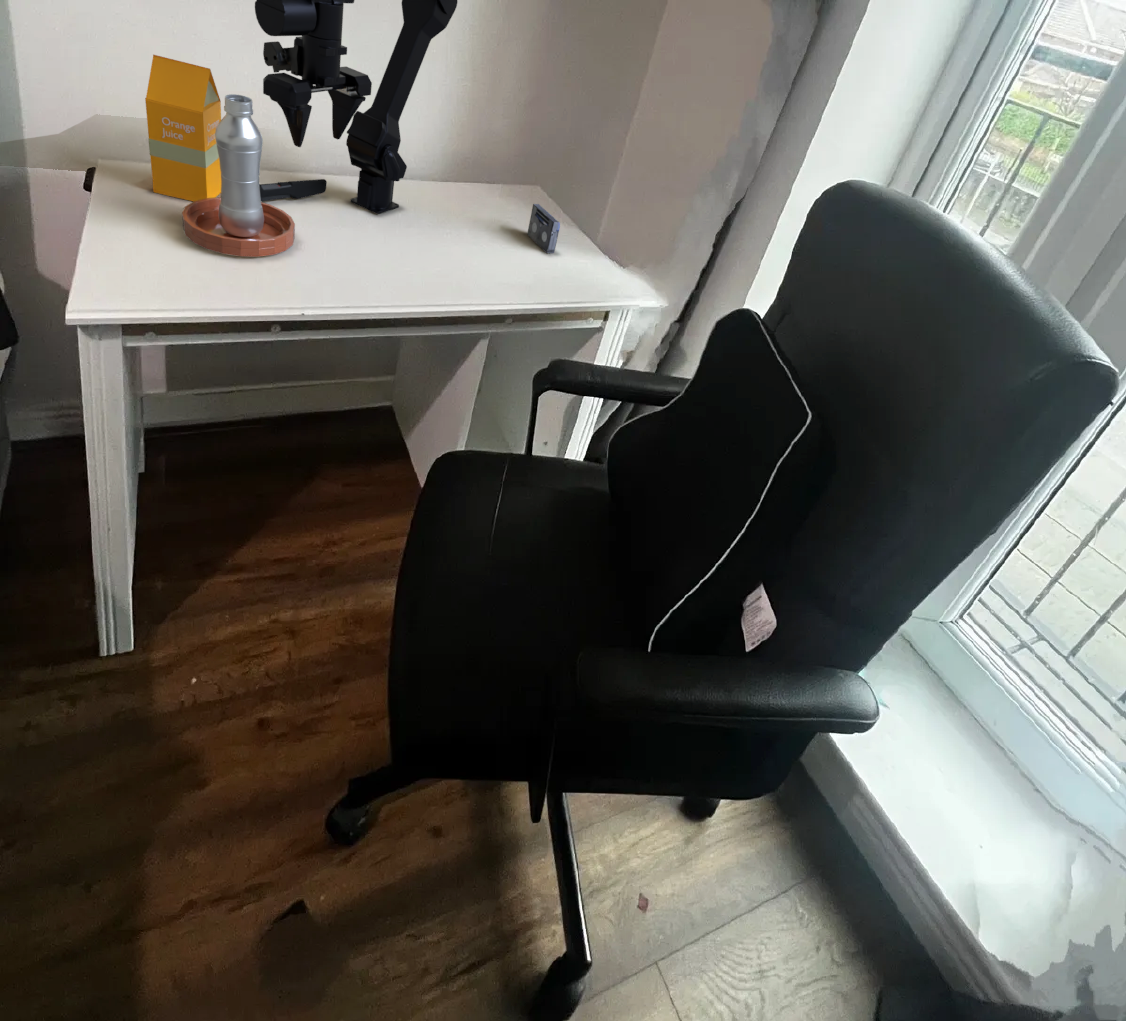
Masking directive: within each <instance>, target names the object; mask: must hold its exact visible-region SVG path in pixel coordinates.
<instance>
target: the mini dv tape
mask: <svg viewBox="0 0 1126 1021" xmlns="http://www.w3.org/2000/svg"><path fill="white" fill-rule="evenodd" d="M560 228H561V222H560V221H558V219H556V218H555V217H554V216H553V215H552V214H551V213H550V212H548V211H547V210H546V209H545V208H544V207H543V206H542V205H540V204H539V203H533V204H532V209H531V214H530V219H529V224H528V229H527V233H526V234H527V236H528V237H529V238H530V239H531V240H532V241H533V242H534V243H536V245H537V246H538V247H539V248H541V250H543V251H544V252H545V253H546V254H555V250H556V247H557V242H558V238H559V232H560Z"/></svg>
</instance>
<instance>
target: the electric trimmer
mask: <svg viewBox="0 0 1126 1021" xmlns="http://www.w3.org/2000/svg"><path fill="white" fill-rule="evenodd" d="M259 187H260V197H261V202H267V201H276V200H284V199H293V200H299V199H304V198H308V197H313V196H316V195H322V194H324V193H326V191H327V180H326V179H325V178H318V179H306V180H305V179H303V180H289V181H278V182H273V183H272V182H271V183H259Z"/></svg>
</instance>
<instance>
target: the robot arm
mask: <svg viewBox="0 0 1126 1021" xmlns="http://www.w3.org/2000/svg"><path fill="white" fill-rule="evenodd" d="M354 3H355V0H256V1H254V13H255V18H256V21H257V23H258V25H259V27H260V28H261V30H262V31H263V32H264V33H265V34H266V35H268V36H270V37H295V38H294V39H293V46H292V47H283V46H282V43H280V41H266V42H263V50H262V56H263V60H264V63H265V65H266V66H267V67H272V71H273V73H268V74H267V75H265V77H264V78H263V79H262V85H263V86H262V94H263V95H265V96H268V97H269V99H270V100H271V101H273V102H274V103H277V105H278V106H279V107H280V108H281V110H282V112H283V115H284V117H285V120H286V123H287V126H288V129H289V130H288V131H289V133H290V136H291V139H292V142H293V145H294V146H295V147H297V148H301V147H302V145H303V143H304V141H305V140H304V139H305V136H306V132H307V128H308V124H309V121H310V120H309V119H310V116H311V112H312V109H313V106H312V105H311V104H309V103H310V101H311V99H312V96H313V95H312V94H313V93H322V92H327V93H328V95H329V97H330V99H331V105H332V106H331V115H332V116H331V128H332V137H333V138H334V139H336V140H340V139H341V138H342V135H343V134H344V132H345V130H346V129H347V127H348V125H349V123H350V122H351V124H350V126H349V128H348V130H347V131H346V134H348V135H347V138H346V141H345V142H346V143H345V145H346V147H347V150H348V156H349V160H350V165H351V166H353V167H356V168H358V169H360V170H359V173H358V174H359V175H358V180H357V189H356V190H357V192H356V197H353V198H350V200H349V201H350V203H351V204H354V205H356V206H358V207H360V208H363V209H365V210H367V211H369V212H372V213H374V214H376V215H381V214H384V213H387V212H389V211H393V210H396V209H399V207H400V204H399V203H396V202H394V201H393V198H394V188H395V187H394V186H395V182H400V180H401V179H404V178H405V175H406V171H407V168H408V166H407V163H405V160H404V159H403V157H402V156H401V155H400V153H399V149H400V145H401V142H402V140H401V131H400V123H399V122H400V119H401V116H402V114H403V112H404V109H405V106H406V104H407V101H408V99H409V96H410V94H411V92H412V88H413V86H414V84H415V81H416V79H417V76H418V73H419V71H420V69H421V66H422V63H423V60H424V58H425V56H426V54H427V51H428V48H429V46H430V43H431V41H432V39H434V38H435V37H436V36H438V35H439V34H440V33H441V32H443V31H444V30H445V29H446V28H447V26H448V25H449V23H450V21H451V19H452V17H453V15H454V13H455V11H456V9H457V6H458V0H401V10H402V20H403V24H402V27H401V30H400V32H399V35H398V36H397V40H396V43H395V45H394V47H393V50H392V53H391V54H390V57H389V60H388V63H387V66H386V68H385V71H384V73H383V76H382V79H381V81H380V83H379V86H378V89H377V92H376V93H375V97H374V99H373V101H372V104H371V106H370V107H369V108H368V109H366V110H365V111H364V112H361V111H360V110H358V109H359V107H360V106H361V104H362V103H363V102H365V101H366V97H368V96H372V87H373V86H372V85H373V84H372V83H373V82H372V80H371V79H370V77H369V74H366V73H364V72H361V71H359V70H356V69H353V68H351V67H348V66H341V57H342V56H347V55H348V47H347V46H345V45H343V44H342V42H343V40H342V38H343V25H344V24H343V22H344V5H345V4H354ZM280 71H281V72H280ZM282 71H286V72H290V74H289V73H286V72H282ZM291 74H292V75H291ZM298 77H301V78H298ZM351 120H352V121H351Z"/></svg>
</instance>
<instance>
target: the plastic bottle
mask: <svg viewBox="0 0 1126 1021" xmlns="http://www.w3.org/2000/svg"><path fill="white" fill-rule="evenodd" d="M253 104H254V103H253V99H252V98H250V97H249V96H246V95H242V94H233V93H231V94H230V93H229V94H225V96H224V106H223V110H224V112H225V115H224V116H223V117H222V118H221V121H220V123H219V124H218V126H217V128H216V132H215V139H216V145H217V150H218V155H219V160H220V170H221V193H220V197H221V201H220V205H219V214H218V216H219V220H220V224H221V226H222V228H223V229H224V230H225V231H226V232H227V233H229V234H231V235H235V236H240V237H251V236H256V235H258V234H259V233H260V232H261V230H262V229H263V224H264V214H263V209H262V205H261V202H262V201H261V197H260V187H259V184H260V175H261V174H260V171H261V159H262V152H263V145H264V144H263V143H264V140H263V136H262V133H261V130H260V129H259V127H258V125H257V124H256V122H255V120H254V119H253V118H252V116H253V115H254V109H253Z"/></svg>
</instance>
